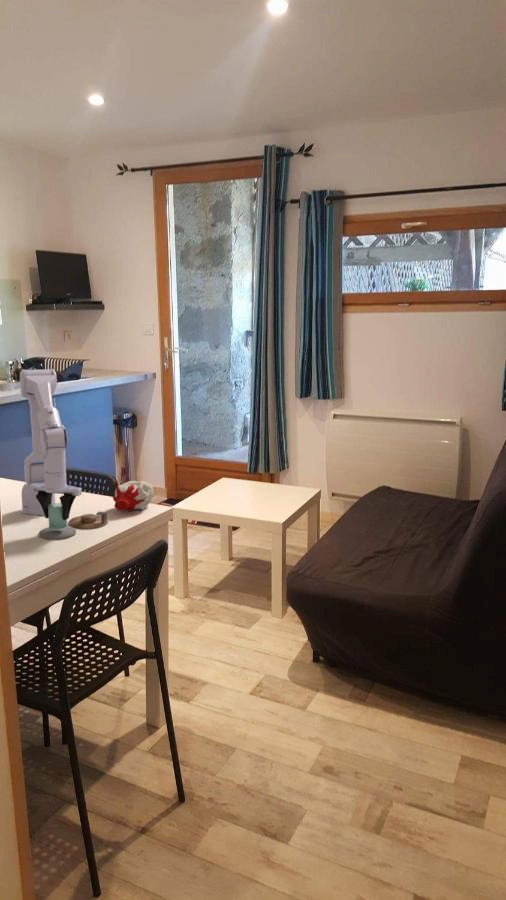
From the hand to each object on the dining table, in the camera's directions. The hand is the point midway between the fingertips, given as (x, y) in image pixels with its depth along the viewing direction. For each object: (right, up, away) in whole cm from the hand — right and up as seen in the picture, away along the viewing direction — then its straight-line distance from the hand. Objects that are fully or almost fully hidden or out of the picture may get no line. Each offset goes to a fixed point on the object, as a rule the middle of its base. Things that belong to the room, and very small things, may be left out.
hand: (57, 518), depth 183 cm
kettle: (0, -2, +1) cm, 2 cm away
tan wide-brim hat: (+6, -3, +11) cm, 13 cm away
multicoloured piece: (+16, 0, +24) cm, 29 cm away
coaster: (0, -4, +1) cm, 5 cm away
